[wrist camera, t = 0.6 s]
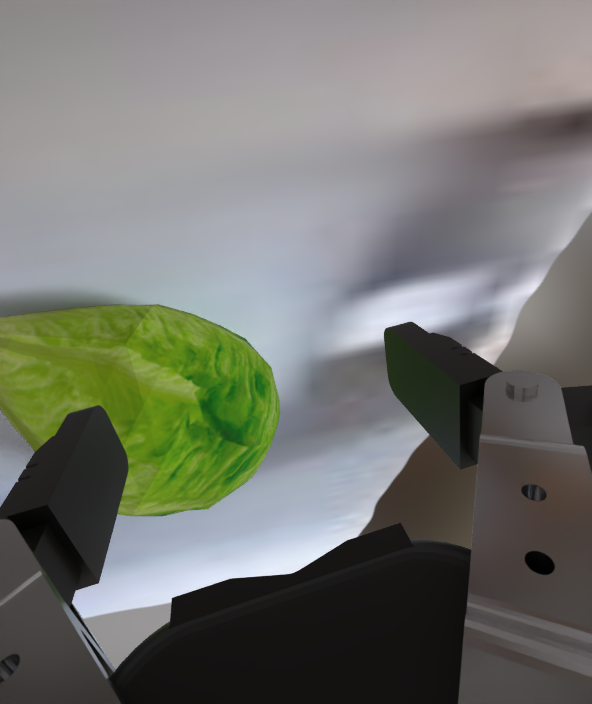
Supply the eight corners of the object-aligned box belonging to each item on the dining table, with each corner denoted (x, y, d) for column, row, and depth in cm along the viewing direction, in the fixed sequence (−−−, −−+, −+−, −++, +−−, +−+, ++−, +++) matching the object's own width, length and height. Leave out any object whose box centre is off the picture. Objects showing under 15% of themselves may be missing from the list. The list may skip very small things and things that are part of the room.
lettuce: (-11, 388, 33) (55, 225, 31) (228, 478, 39) (300, 348, 37) (-187, 495, 19) (-94, 214, 17) (224, 610, 25) (341, 415, 23)
